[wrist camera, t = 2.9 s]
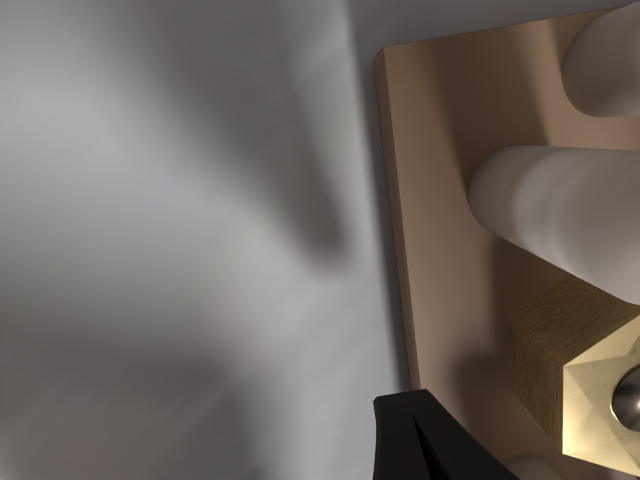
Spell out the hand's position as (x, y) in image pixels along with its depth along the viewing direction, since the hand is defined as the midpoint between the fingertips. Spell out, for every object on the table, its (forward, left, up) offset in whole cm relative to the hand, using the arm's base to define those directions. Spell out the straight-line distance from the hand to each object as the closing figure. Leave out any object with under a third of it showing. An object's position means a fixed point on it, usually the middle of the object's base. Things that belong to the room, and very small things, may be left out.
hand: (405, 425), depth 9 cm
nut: (+6, 0, -2) cm, 6 cm away
